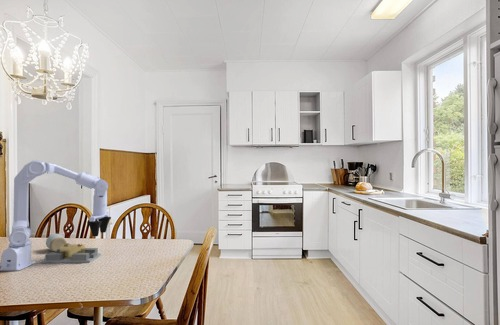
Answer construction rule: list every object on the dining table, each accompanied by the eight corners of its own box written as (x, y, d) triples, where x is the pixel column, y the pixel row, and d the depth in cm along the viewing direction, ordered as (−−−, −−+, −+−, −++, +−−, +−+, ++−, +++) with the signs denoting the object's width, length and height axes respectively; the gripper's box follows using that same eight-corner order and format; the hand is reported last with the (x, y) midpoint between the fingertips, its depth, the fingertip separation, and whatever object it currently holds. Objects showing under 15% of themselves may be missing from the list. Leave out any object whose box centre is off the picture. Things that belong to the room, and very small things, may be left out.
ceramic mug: (49, 253, 130) (50, 237, 130) (45, 250, 136) (46, 234, 136) (74, 249, 138) (75, 234, 138) (70, 246, 143) (70, 231, 144)
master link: (80, 258, 122) (80, 245, 122) (59, 258, 121) (59, 245, 121) (84, 255, 125) (85, 243, 125) (64, 255, 125) (64, 243, 125)
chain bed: (89, 262, 119) (89, 254, 119) (41, 262, 118) (41, 254, 118) (100, 255, 129) (101, 248, 129) (56, 255, 128) (56, 248, 128)
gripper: (101, 207, 122) (100, 238, 122) (115, 203, 137) (114, 230, 137) (85, 207, 122) (84, 238, 122) (100, 203, 137) (100, 230, 136)
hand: (99, 234), depth 129 cm, fingers open, 7 cm apart
